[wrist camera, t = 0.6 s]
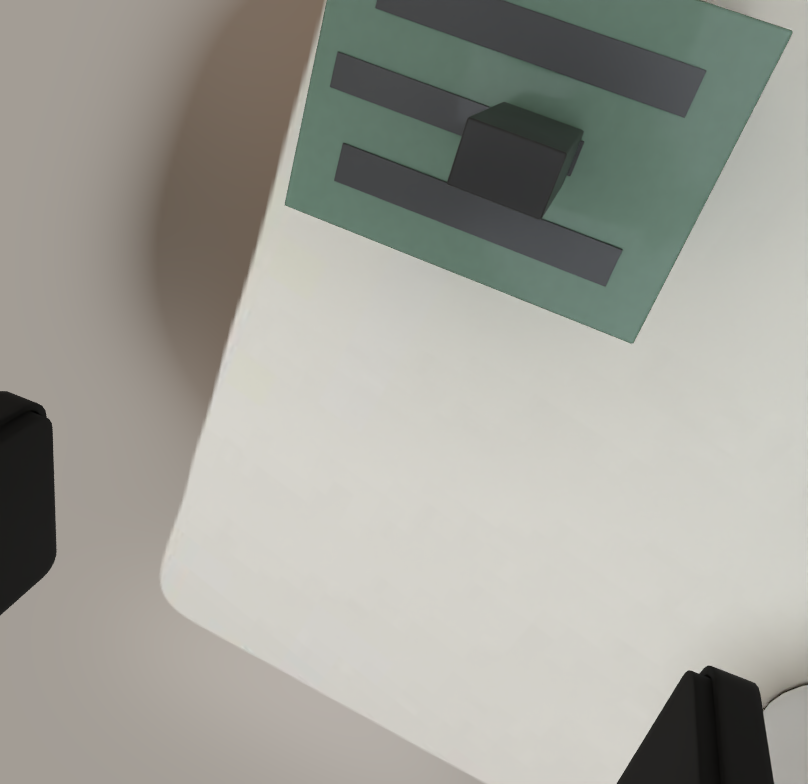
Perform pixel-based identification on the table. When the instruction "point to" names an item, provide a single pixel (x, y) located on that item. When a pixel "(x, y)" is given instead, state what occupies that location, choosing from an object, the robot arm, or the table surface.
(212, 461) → the table surface
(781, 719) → the cup
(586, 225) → the toaster
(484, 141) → the slider
